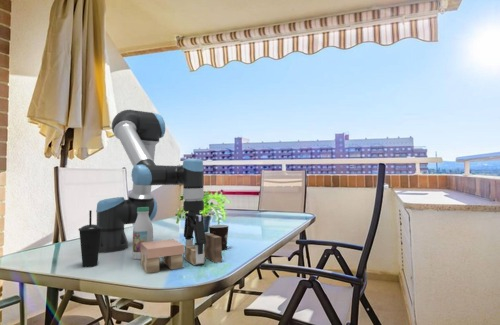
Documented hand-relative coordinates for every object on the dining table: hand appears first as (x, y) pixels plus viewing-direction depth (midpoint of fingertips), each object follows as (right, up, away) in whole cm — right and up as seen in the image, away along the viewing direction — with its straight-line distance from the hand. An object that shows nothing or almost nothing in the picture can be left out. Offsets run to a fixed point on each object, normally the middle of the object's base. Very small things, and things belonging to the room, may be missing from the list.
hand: (194, 259), depth 115 cm
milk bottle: (-22, -2, +9) cm, 24 cm away
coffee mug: (+6, -2, +20) cm, 21 cm away
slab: (-11, +4, -6) cm, 13 cm away
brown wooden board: (+6, -1, +3) cm, 7 cm away
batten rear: (-14, -1, -8) cm, 16 cm away
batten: (0, 0, 0) cm, 0 cm away
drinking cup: (-38, -2, -1) cm, 38 cm away
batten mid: (-7, -1, -4) cm, 8 cm away
